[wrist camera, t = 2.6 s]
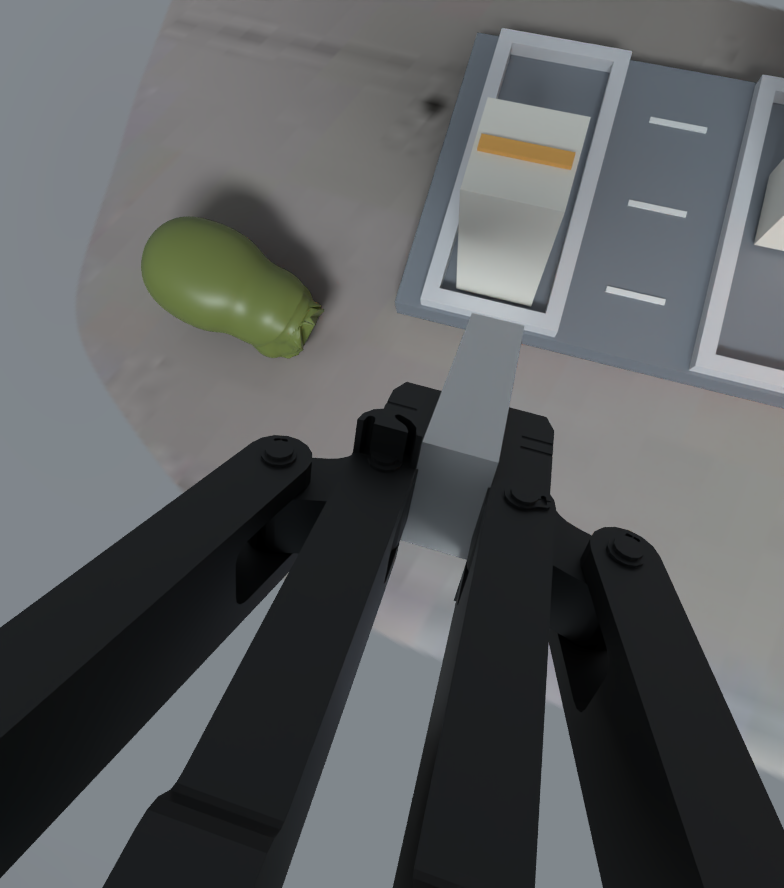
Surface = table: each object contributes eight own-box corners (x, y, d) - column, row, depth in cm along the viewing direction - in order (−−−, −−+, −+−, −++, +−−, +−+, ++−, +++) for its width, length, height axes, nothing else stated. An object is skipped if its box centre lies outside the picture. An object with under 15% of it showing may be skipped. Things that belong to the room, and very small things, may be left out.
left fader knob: (550, 236, 31) (591, 113, 22) (530, 306, 31) (566, 209, 22) (476, 220, 32) (487, 93, 23) (456, 288, 31) (460, 186, 22)
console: (904, 132, 32) (939, 102, 30) (848, 424, 30) (881, 415, 28) (476, 53, 36) (478, 20, 33) (396, 312, 33) (393, 295, 31)
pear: (161, 178, 30) (339, 269, 30) (190, 226, 35) (341, 304, 35) (105, 273, 29) (287, 366, 29) (143, 308, 34) (297, 387, 35)
